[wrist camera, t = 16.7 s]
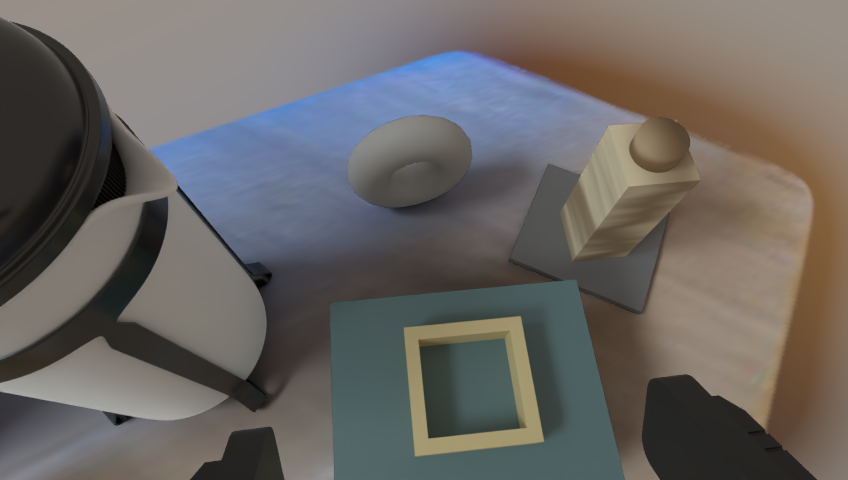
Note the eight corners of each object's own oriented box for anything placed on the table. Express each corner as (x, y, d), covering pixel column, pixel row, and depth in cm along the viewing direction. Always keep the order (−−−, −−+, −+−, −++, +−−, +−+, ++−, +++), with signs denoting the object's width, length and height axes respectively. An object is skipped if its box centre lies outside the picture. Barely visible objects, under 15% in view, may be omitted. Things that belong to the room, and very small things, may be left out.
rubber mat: (508, 261, 42) (509, 258, 41) (546, 167, 46) (548, 163, 45) (638, 314, 40) (642, 312, 40) (667, 212, 44) (670, 209, 43)
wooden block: (572, 261, 41) (638, 173, 29) (559, 212, 43) (617, 110, 31) (625, 256, 42) (713, 166, 29) (611, 208, 43) (688, 104, 31)
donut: (358, 226, 43) (343, 160, 34) (350, 192, 44) (333, 120, 35) (471, 200, 44) (485, 130, 35) (459, 167, 46) (470, 92, 36)
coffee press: (210, 210, 43) (-138, -231, 16) (335, 339, 39) (146, 33, 12) (20, 355, 38) (-980, 65, 11) (139, 524, 34) (-1051, 759, 6)
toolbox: (350, 517, 34) (329, 532, 26) (343, 329, 39) (324, 292, 31) (589, 489, 35) (642, 494, 27) (550, 309, 40) (585, 268, 32)
